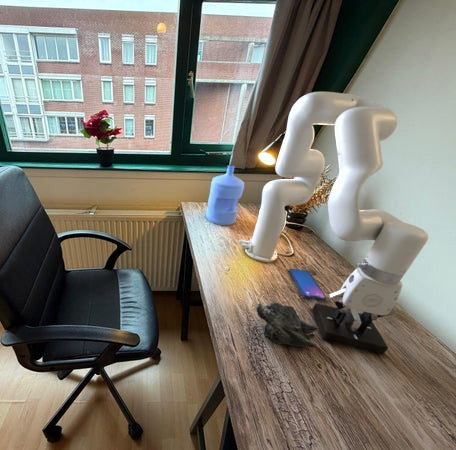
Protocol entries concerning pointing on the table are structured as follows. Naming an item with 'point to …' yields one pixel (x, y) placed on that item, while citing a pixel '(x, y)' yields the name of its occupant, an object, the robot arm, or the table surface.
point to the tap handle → (352, 320)
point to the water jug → (224, 198)
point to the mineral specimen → (285, 325)
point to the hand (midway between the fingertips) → (349, 322)
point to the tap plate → (341, 335)
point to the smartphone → (307, 284)
